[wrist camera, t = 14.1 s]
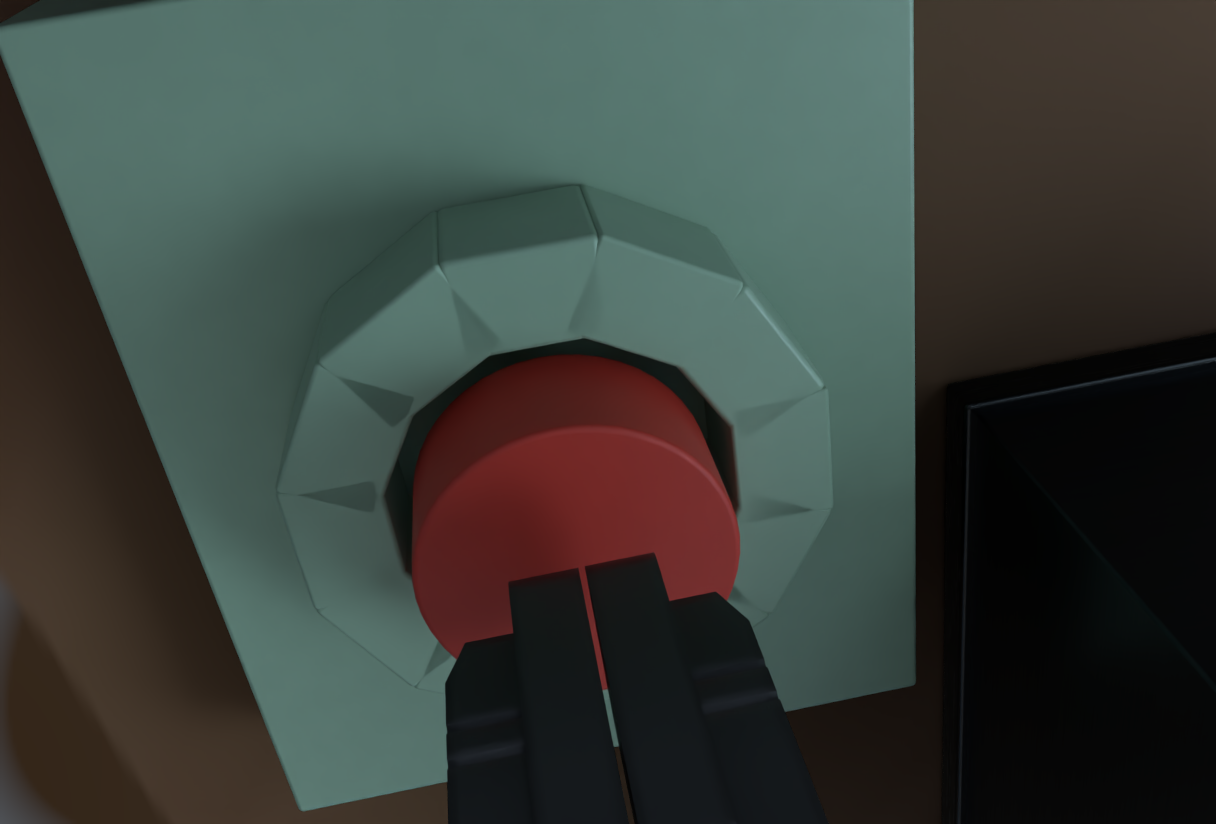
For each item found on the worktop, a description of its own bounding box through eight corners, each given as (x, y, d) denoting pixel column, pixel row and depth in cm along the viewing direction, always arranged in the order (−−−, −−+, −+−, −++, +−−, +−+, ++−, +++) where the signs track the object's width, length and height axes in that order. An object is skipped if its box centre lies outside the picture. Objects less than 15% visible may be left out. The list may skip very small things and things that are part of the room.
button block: (46, -7, 14) (-80, 65, 10) (850, -141, 14) (986, -115, 11) (311, 714, 20) (286, 914, 16) (871, 601, 20) (963, 771, 17)
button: (381, 383, 13) (375, 464, 11) (692, 325, 13) (727, 397, 12) (447, 627, 15) (449, 724, 13) (719, 572, 15) (754, 662, 13)
